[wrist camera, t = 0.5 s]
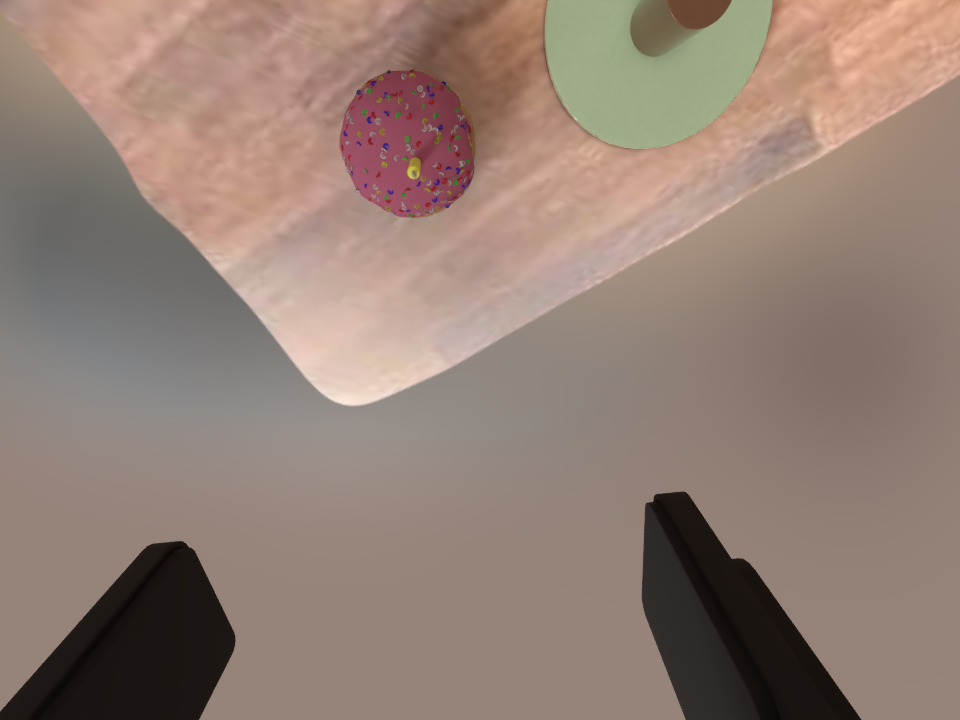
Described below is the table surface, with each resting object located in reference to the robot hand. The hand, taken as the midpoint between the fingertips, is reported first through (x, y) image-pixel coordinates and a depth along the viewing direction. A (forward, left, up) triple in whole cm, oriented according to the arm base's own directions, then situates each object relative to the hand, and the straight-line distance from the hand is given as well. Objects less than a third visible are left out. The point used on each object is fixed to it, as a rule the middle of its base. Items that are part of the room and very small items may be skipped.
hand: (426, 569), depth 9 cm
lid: (-15, +15, -28) cm, 35 cm away
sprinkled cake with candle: (-10, -2, -29) cm, 31 cm away
